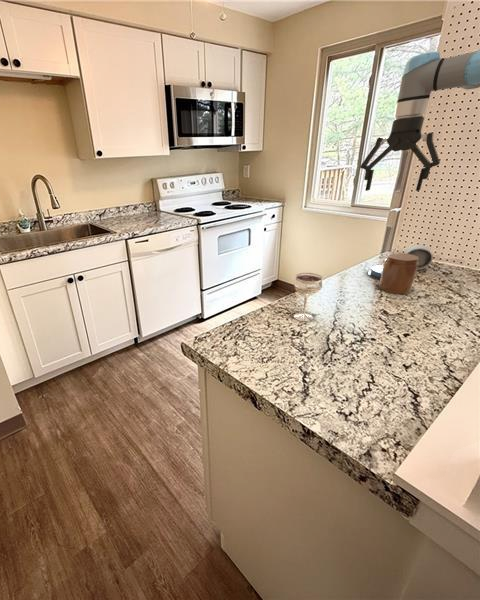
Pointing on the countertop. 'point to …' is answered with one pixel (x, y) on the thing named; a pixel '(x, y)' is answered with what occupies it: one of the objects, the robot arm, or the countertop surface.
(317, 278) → the wineglass
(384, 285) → the jam jar
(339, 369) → the countertop surface
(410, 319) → the countertop surface
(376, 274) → the jar lid
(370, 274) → the coaster
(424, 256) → the ceramic mug
